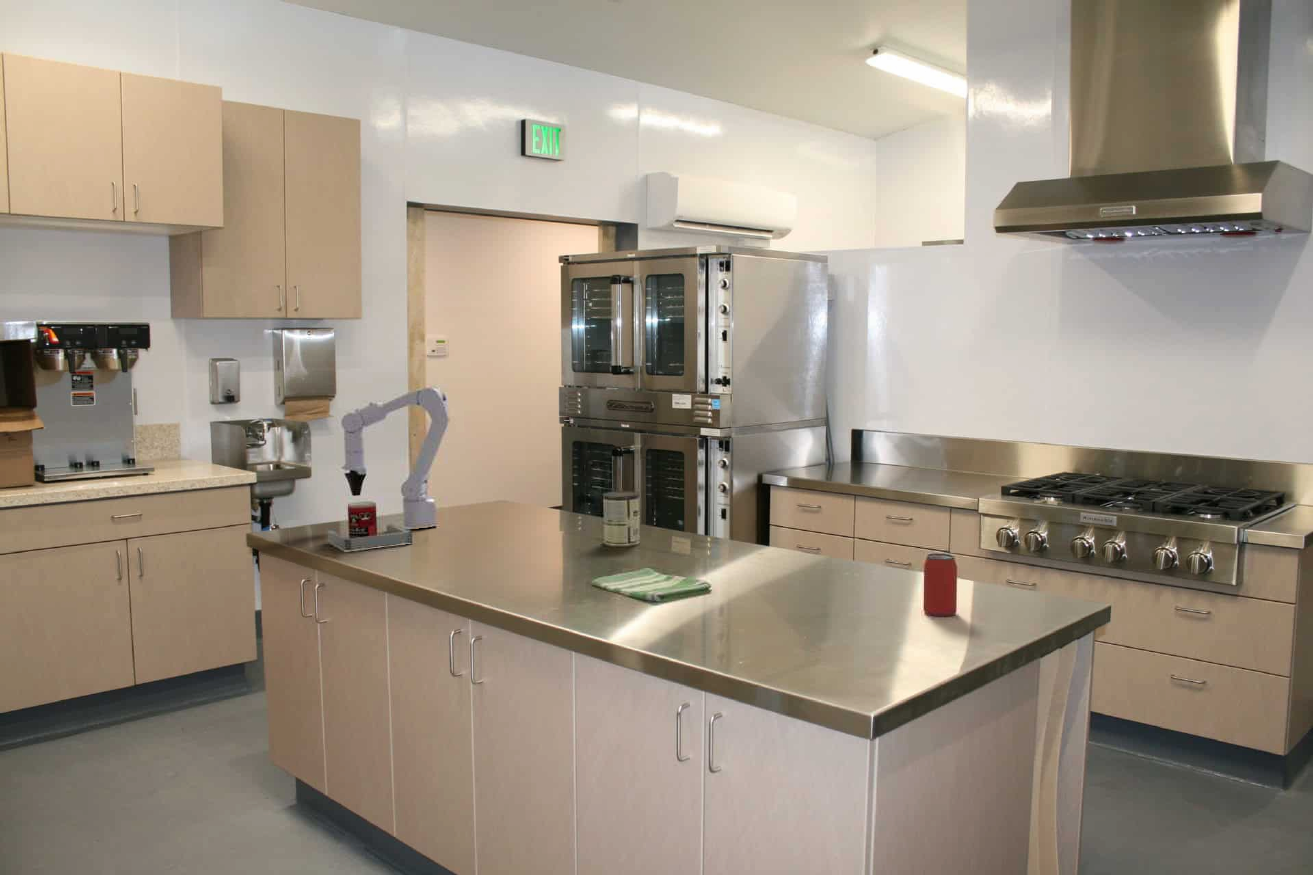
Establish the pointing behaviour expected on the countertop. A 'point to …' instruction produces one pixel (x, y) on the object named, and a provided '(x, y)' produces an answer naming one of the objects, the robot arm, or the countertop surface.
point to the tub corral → (372, 539)
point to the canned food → (362, 519)
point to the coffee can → (621, 518)
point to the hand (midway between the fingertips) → (356, 495)
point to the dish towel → (652, 585)
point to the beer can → (940, 585)
